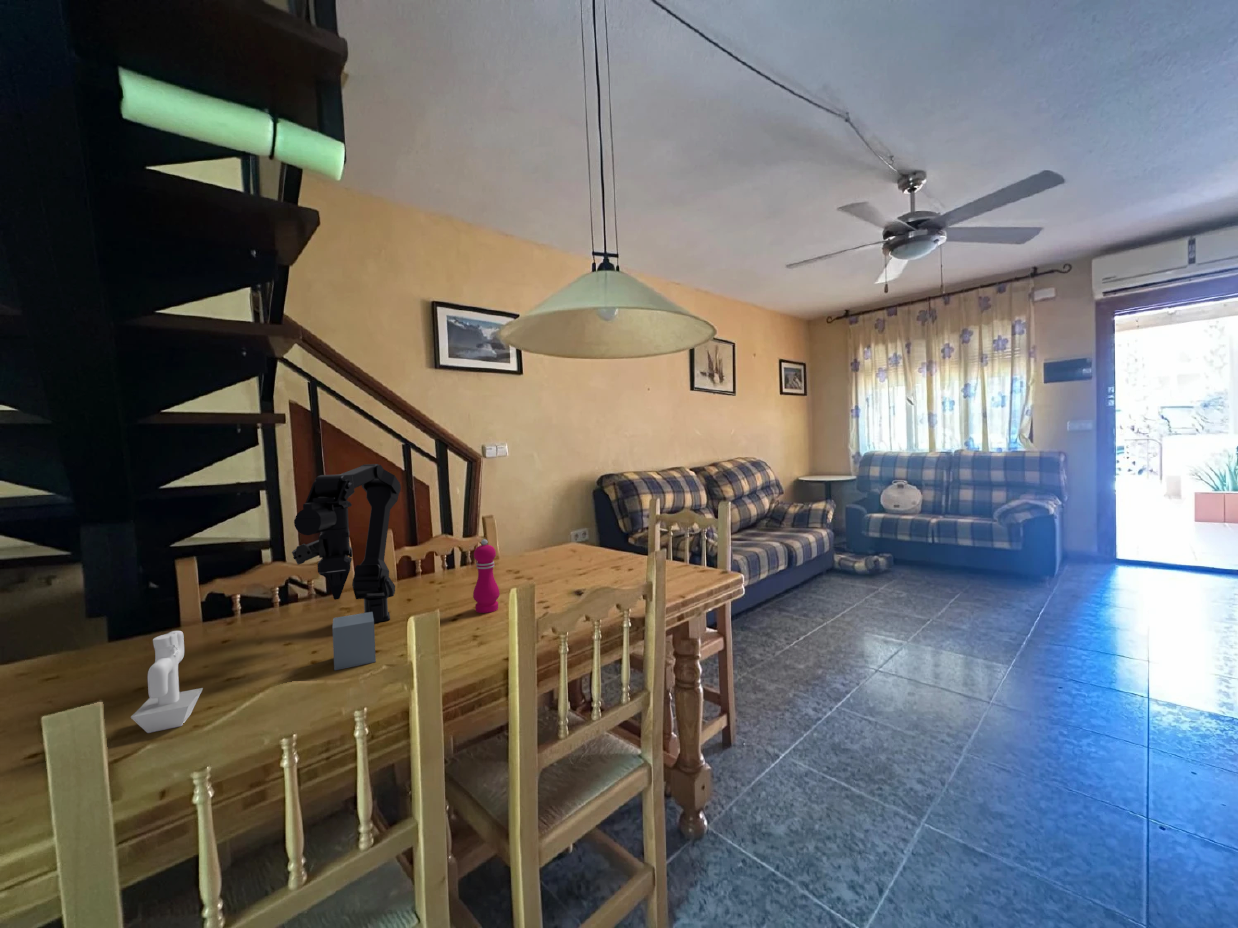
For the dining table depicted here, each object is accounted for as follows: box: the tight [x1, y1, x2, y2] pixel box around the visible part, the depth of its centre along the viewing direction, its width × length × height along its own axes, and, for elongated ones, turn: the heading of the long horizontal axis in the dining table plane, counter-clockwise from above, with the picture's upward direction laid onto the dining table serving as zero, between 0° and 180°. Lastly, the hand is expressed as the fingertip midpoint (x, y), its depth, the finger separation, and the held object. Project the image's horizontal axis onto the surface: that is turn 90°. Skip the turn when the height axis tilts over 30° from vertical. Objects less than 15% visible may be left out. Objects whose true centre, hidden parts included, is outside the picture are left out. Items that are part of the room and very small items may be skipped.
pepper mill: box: [472, 538, 500, 614], centre depth 140 cm, size 7×7×20 cm
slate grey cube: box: [332, 612, 377, 671], centre depth 108 cm, size 8×8×9 cm
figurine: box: [130, 630, 204, 734], centre depth 83 cm, size 7×9×15 cm
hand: (337, 594), depth 116 cm, fingers open, 9 cm apart
